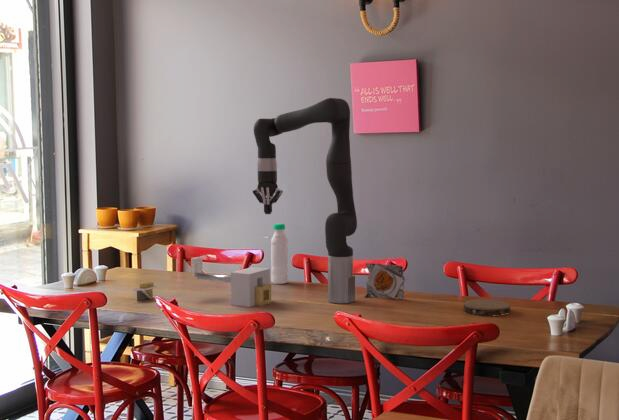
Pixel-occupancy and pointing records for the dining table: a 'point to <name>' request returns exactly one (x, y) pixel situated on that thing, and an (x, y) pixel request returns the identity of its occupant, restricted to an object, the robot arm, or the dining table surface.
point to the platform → (145, 291)
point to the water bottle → (279, 255)
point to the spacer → (262, 294)
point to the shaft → (197, 272)
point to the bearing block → (247, 285)
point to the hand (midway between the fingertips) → (268, 214)
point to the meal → (385, 281)
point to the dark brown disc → (486, 307)
